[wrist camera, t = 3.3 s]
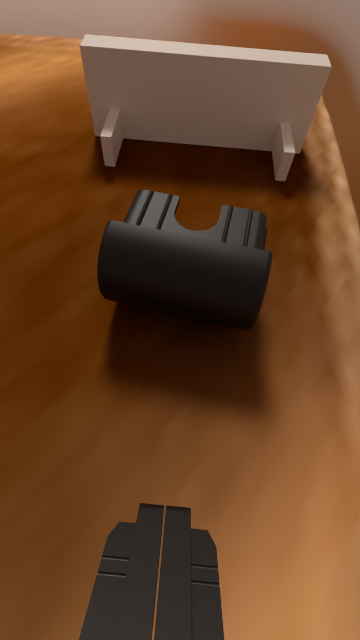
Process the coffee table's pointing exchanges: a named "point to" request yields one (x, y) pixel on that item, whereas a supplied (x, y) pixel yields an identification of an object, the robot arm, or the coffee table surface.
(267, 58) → the white board with feet
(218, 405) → the coffee table surface
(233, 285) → the end cap
